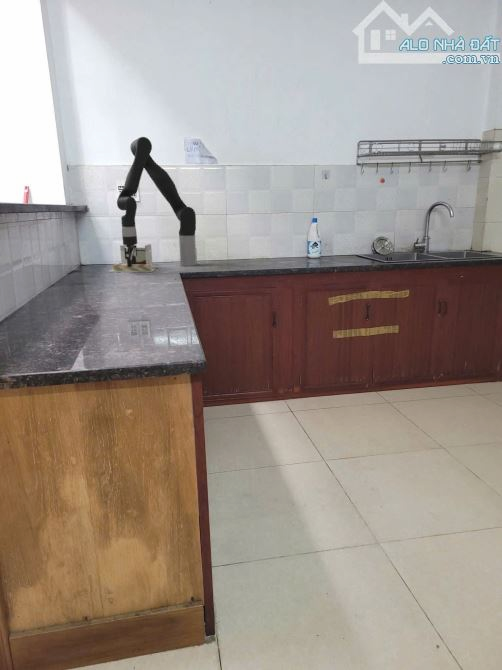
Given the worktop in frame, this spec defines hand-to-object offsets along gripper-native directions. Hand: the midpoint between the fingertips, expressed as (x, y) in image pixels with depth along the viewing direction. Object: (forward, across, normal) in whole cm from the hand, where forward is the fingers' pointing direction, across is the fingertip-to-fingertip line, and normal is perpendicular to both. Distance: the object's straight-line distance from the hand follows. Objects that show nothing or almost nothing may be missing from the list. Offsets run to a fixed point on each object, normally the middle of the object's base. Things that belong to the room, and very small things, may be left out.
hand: (132, 265), depth 258 cm
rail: (+3, 0, 0) cm, 3 cm away
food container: (+3, +22, +2) cm, 22 cm away
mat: (+3, 0, 0) cm, 3 cm away
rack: (+3, +10, 0) cm, 11 cm away
